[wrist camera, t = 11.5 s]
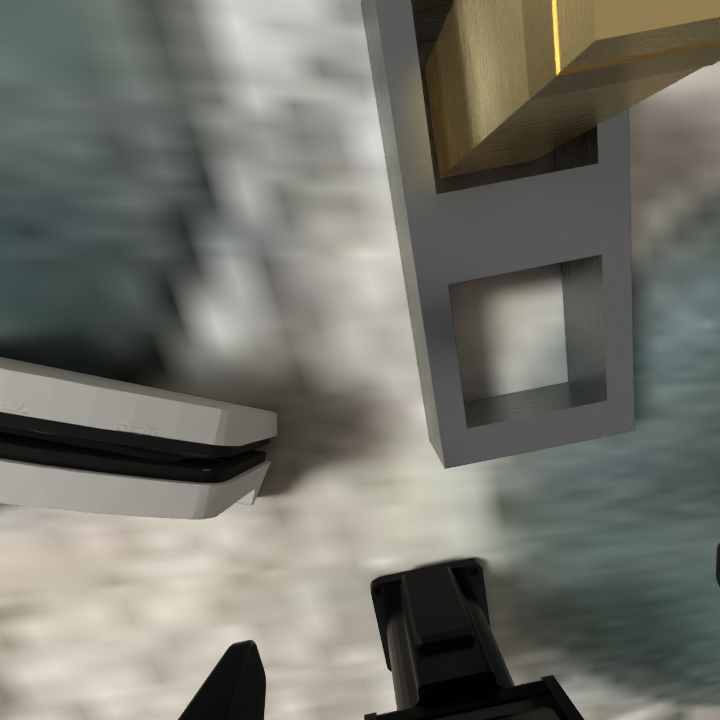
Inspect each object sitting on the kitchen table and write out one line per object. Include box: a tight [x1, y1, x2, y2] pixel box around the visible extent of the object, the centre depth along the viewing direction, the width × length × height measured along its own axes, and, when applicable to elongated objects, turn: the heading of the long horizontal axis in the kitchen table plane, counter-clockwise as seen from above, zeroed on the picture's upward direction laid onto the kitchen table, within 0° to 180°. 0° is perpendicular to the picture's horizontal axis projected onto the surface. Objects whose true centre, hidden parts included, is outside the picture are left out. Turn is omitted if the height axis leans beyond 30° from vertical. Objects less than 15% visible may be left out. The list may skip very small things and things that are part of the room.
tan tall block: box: [425, 0, 720, 179], centre depth 12 cm, size 5×5×11 cm
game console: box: [0, 357, 277, 519], centre depth 15 cm, size 17×5×10 cm, turn 76°
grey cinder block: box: [361, 0, 635, 469], centre depth 17 cm, size 20×9×3 cm, turn 11°
